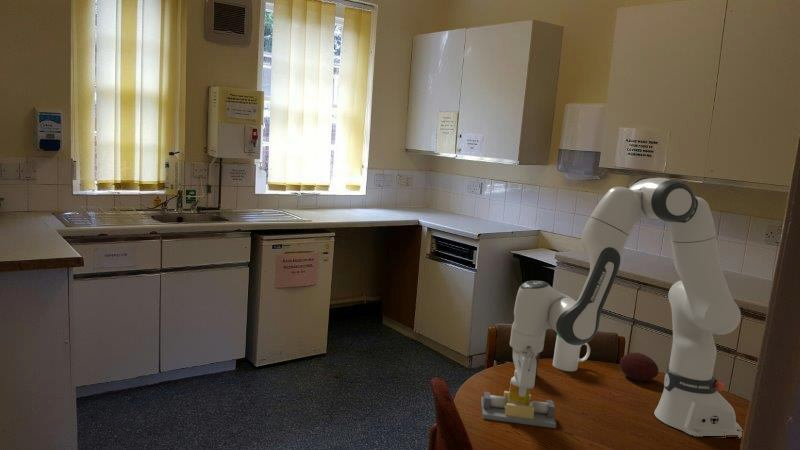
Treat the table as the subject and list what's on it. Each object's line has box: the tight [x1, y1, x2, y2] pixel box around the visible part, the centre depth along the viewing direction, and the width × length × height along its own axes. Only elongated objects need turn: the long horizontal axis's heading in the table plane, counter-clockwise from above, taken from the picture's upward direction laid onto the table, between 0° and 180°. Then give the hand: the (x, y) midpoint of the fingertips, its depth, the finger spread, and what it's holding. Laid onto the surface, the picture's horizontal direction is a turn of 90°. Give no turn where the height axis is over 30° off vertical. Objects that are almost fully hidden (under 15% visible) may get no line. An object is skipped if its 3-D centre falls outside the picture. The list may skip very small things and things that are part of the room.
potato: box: [619, 352, 659, 381], centre depth 199 cm, size 12×11×8 cm
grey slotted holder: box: [480, 390, 557, 429], centre depth 164 cm, size 19×11×4 cm, turn 85°
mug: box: [552, 333, 591, 372], centre depth 204 cm, size 12×8×10 cm, turn 102°
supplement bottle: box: [508, 369, 531, 406], centre depth 164 cm, size 5×5×10 cm
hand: (520, 390), depth 164 cm, fingers closed on supplement bottle, 5 cm apart
